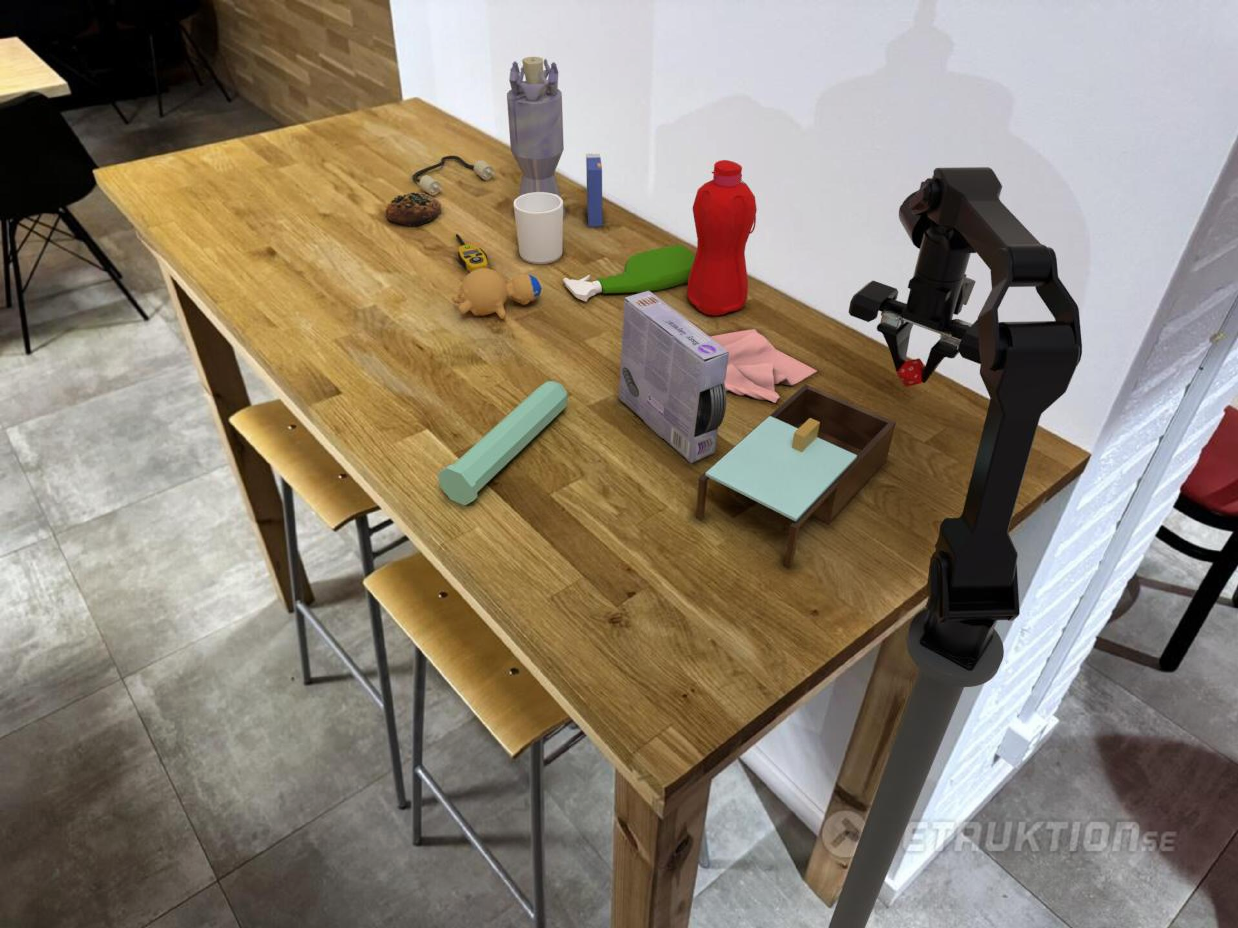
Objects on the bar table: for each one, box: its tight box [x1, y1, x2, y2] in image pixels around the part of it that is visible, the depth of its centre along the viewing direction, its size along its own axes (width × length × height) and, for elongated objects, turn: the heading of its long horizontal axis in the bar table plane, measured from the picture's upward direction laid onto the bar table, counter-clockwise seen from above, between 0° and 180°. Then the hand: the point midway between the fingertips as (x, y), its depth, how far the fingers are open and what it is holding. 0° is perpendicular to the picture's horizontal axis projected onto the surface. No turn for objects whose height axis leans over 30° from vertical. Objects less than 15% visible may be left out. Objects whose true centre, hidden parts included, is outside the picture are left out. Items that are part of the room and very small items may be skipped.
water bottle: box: [686, 159, 758, 317], centre depth 152 cm, size 9×11×25 cm
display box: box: [695, 383, 897, 569], centre depth 121 cm, size 14×26×7 cm, turn 141°
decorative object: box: [506, 56, 567, 217], centre depth 177 cm, size 10×10×30 cm
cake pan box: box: [618, 291, 729, 464], centre depth 128 cm, size 19×5×18 cm, turn 34°
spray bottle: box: [562, 244, 696, 302], centre depth 165 cm, size 3×11×24 cm
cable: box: [412, 155, 495, 196], centre depth 198 cm, size 16×16×4 cm
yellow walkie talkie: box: [455, 233, 489, 273], centre depth 172 cm, size 5×2×15 cm
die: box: [896, 358, 926, 388], centre depth 120 cm, size 4×3×4 cm
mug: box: [513, 192, 564, 265], centre depth 171 cm, size 11×9×10 cm
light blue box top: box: [705, 415, 857, 522], centre depth 115 cm, size 13×15×3 cm
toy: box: [451, 268, 543, 320], centre depth 156 cm, size 10×8×15 cm
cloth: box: [708, 328, 818, 404], centre depth 145 cm, size 20×22×2 cm
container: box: [437, 380, 569, 506], centre depth 128 cm, size 6×6×25 cm
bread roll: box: [385, 191, 442, 228], centre depth 185 cm, size 11×11×5 cm
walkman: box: [585, 153, 603, 228], centre depth 181 cm, size 8×3×12 cm, turn 4°
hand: (912, 376), depth 121 cm, fingers closed on die, 3 cm apart
